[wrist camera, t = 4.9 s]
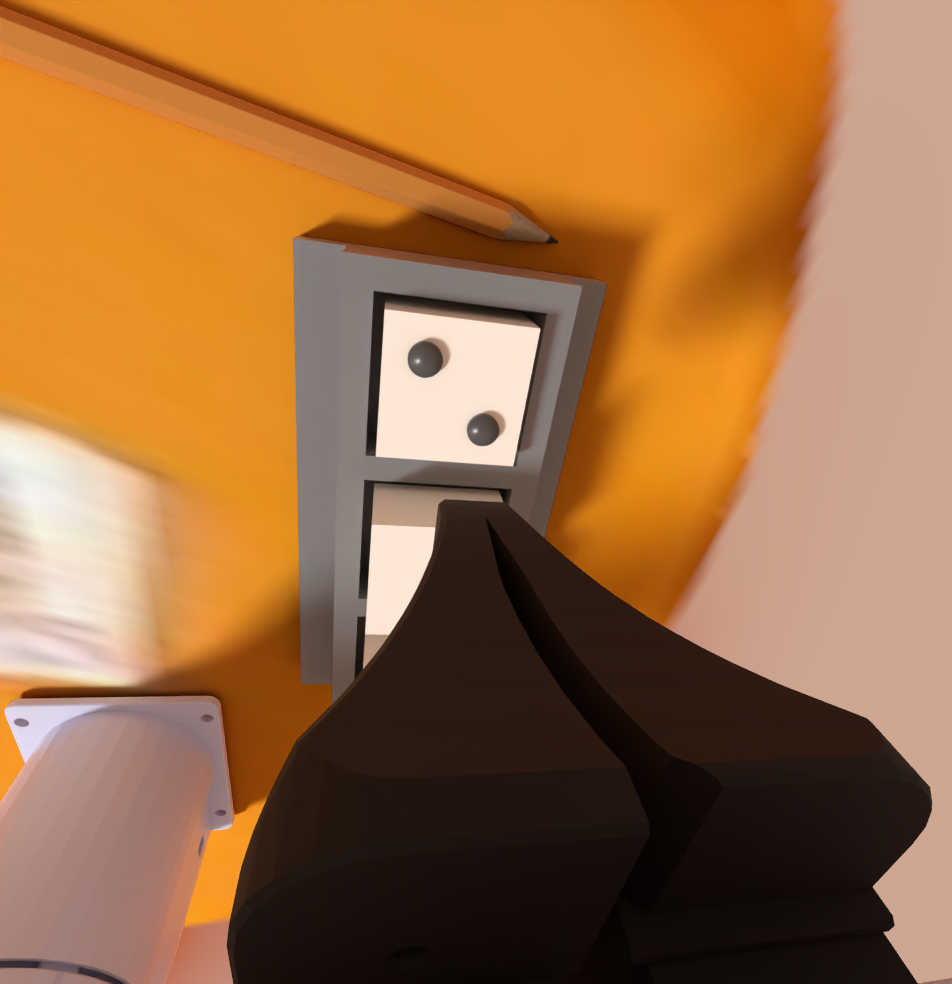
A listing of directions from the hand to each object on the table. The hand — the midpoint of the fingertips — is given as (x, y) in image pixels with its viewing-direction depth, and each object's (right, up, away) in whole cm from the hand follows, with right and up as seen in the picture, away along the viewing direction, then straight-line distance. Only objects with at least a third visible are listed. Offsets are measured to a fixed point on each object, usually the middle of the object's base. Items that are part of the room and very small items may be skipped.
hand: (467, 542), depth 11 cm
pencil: (-6, +11, +3) cm, 13 cm away
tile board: (-2, +1, +9) cm, 9 cm away
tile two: (-1, +5, +6) cm, 7 cm away
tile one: (-1, -1, +7) cm, 7 cm away
